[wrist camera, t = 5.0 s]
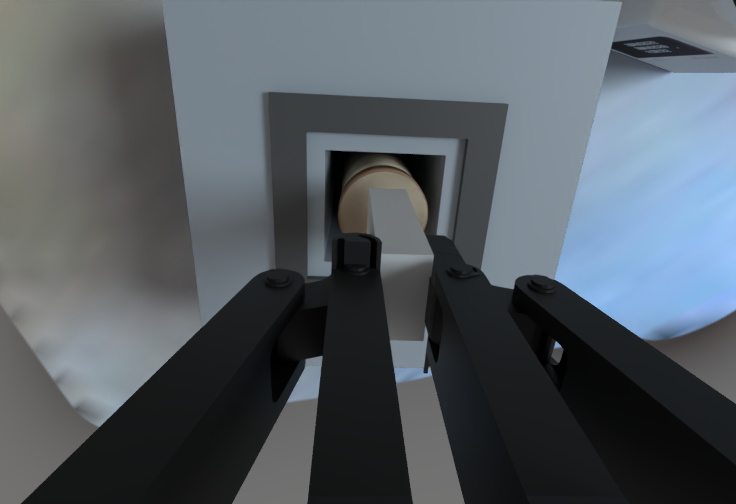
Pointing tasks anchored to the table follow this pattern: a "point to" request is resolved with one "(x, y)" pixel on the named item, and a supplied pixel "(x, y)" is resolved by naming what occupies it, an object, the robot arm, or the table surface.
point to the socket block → (382, 126)
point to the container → (679, 34)
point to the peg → (374, 173)
